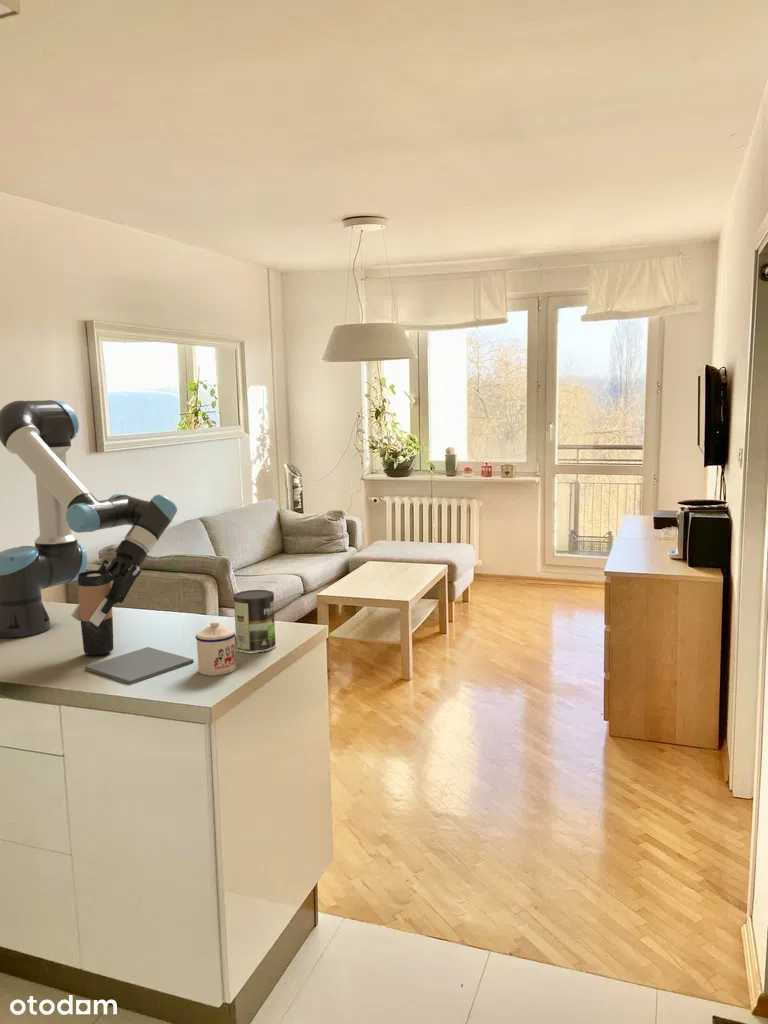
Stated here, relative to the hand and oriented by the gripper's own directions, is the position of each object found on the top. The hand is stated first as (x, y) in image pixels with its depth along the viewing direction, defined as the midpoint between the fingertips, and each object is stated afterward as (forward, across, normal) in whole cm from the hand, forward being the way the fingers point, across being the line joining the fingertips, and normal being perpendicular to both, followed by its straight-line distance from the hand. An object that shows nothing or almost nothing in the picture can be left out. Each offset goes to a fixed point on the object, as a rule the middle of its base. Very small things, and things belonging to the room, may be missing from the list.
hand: (84, 620), depth 194 cm
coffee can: (-14, -30, -27) cm, 43 cm away
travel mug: (+4, 0, -9) cm, 9 cm away
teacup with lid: (-3, -35, -16) cm, 39 cm away
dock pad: (+4, -17, -9) cm, 20 cm away
